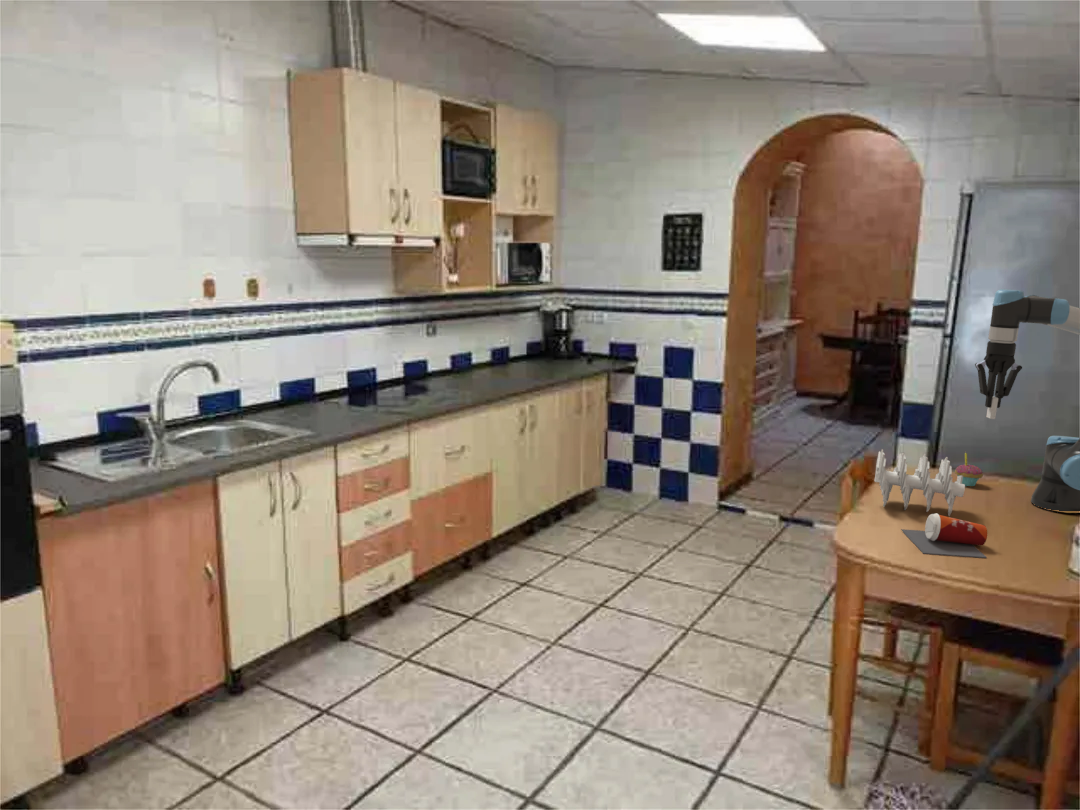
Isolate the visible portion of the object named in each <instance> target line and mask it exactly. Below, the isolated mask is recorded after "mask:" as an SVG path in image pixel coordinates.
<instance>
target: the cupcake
mask: <svg viewBox="0 0 1080 810" xmlns="http://www.w3.org/2000/svg"><path fill="white" fill-rule="evenodd" d="M954 473H955V474H956V475H957V476H961V475H962V476H963V480H962V484H965V487H967V486H974V487H975V486H976V484H977V483H978V481H979V479H982V478H983V477H984V473H983V470H982V469H981V468H980V467H978V466H977V465H973V464H968V453H967V451H966V450H965V451H964V464H960V465H957V467H955V470H954ZM957 476H956V477H957Z"/></svg>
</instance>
